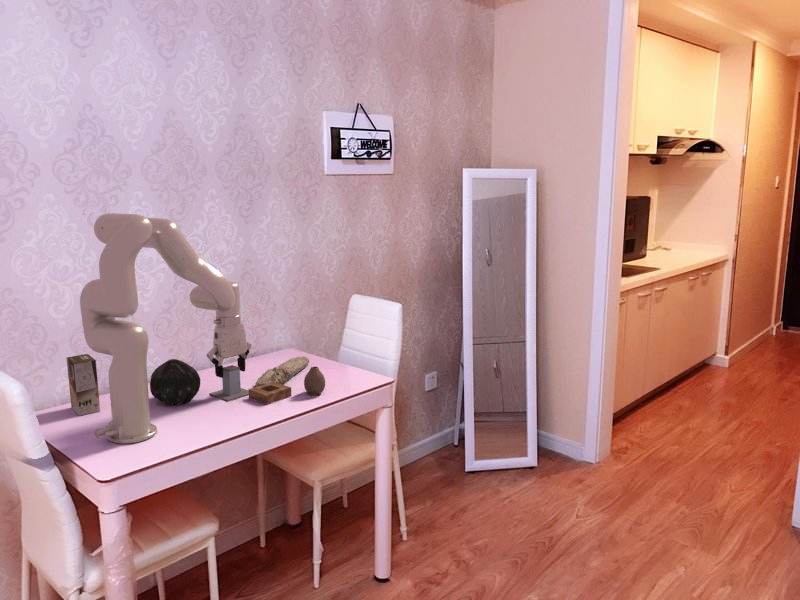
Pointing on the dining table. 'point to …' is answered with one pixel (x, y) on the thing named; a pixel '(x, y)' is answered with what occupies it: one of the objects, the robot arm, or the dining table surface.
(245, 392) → the coaster
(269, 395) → the socket block
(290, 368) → the brown bread loaf
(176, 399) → the squash
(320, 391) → the vase
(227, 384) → the plug
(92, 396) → the coffee box
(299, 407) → the dining table surface
